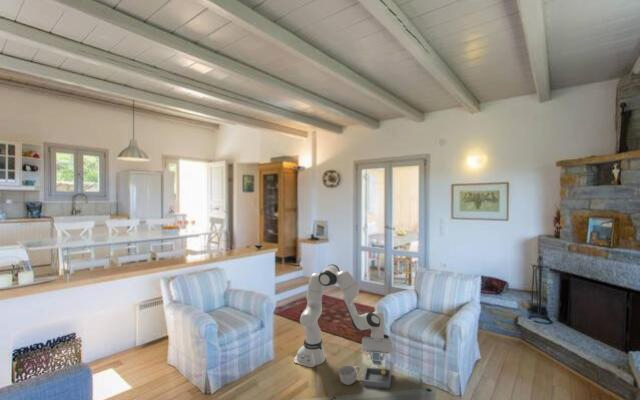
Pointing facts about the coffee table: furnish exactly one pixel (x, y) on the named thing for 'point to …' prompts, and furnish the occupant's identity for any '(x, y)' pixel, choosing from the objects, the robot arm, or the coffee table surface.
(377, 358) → the shaker
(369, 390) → the coffee table surface
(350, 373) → the teacup
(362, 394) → the coffee table surface
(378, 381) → the tray
